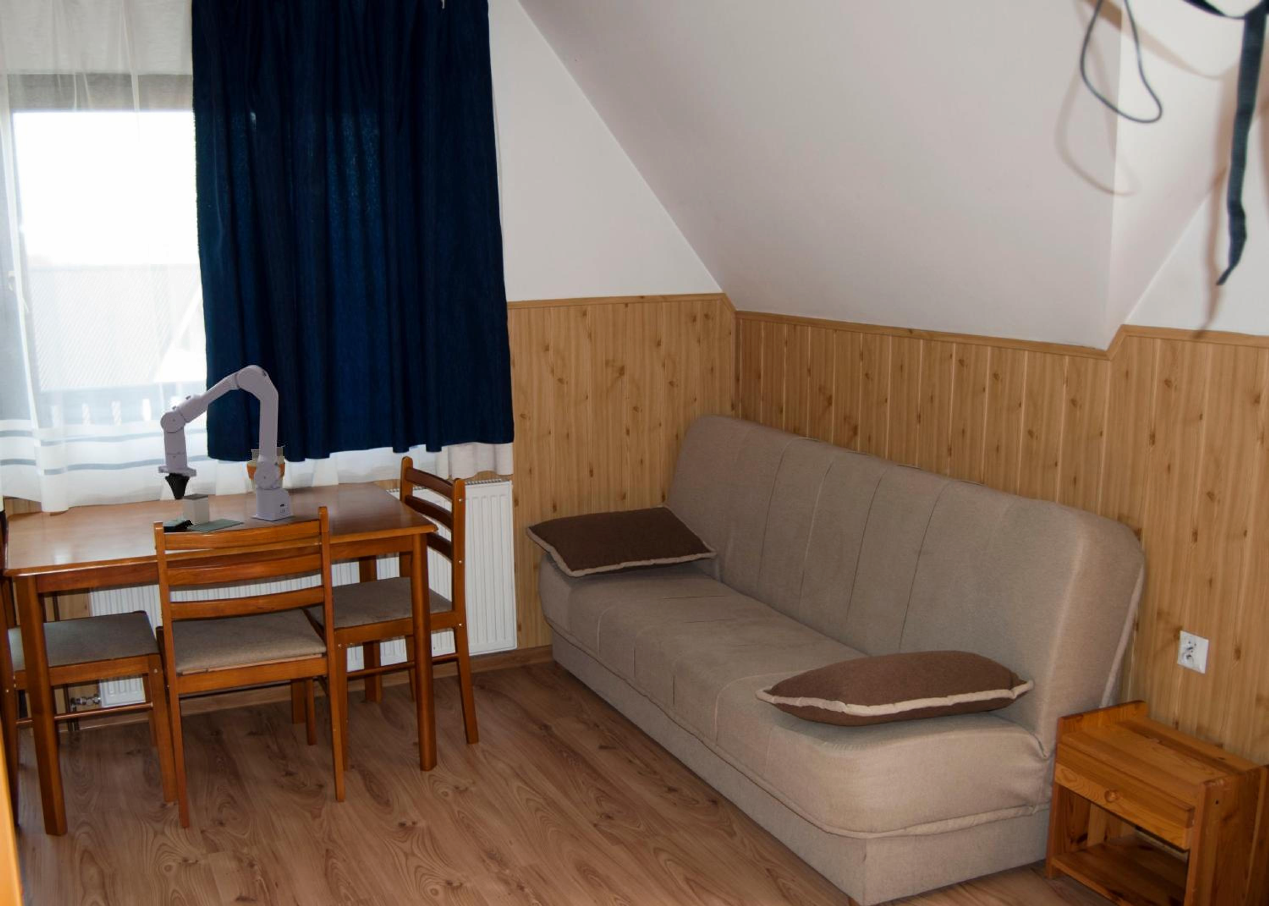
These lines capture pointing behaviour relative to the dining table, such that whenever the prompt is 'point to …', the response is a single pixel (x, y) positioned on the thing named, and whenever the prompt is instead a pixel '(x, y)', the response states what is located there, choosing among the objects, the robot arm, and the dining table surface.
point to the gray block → (196, 508)
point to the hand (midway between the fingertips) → (179, 499)
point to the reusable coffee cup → (253, 465)
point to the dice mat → (214, 525)
